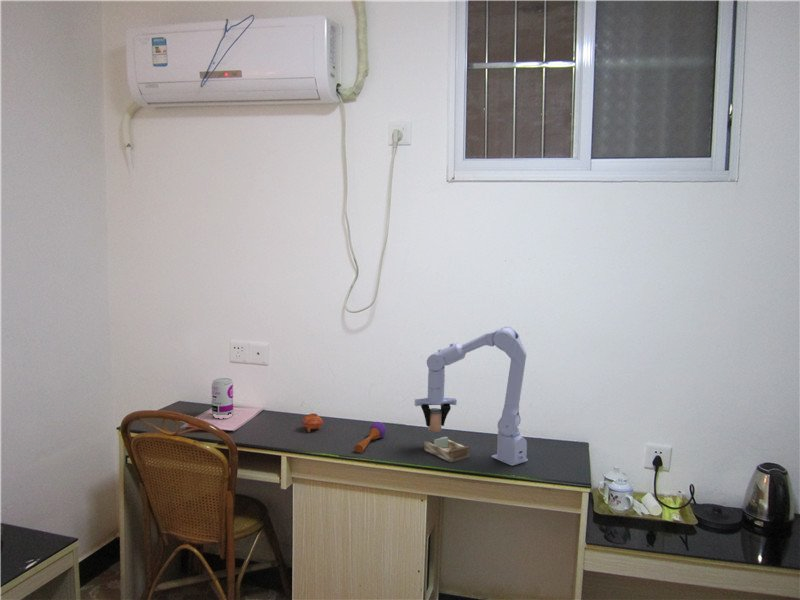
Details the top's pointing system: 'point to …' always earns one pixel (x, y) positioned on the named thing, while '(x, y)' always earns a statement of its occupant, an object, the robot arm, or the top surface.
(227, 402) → the supplement can
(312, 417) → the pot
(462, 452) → the tray
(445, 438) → the pusher
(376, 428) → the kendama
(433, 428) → the jar
